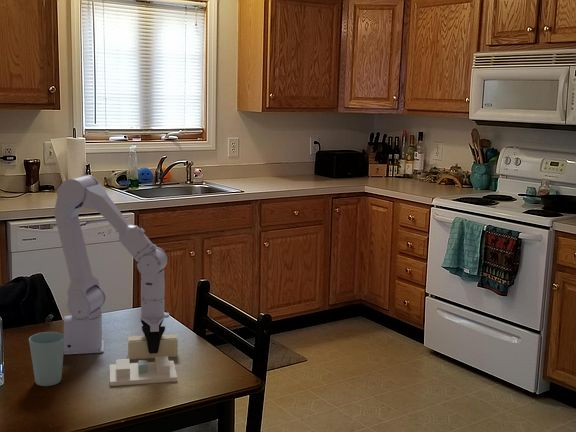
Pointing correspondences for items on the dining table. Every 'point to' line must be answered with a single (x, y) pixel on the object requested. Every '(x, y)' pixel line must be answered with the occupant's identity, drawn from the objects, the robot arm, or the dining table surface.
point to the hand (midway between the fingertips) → (152, 349)
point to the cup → (47, 357)
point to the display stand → (142, 372)
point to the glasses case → (140, 348)
